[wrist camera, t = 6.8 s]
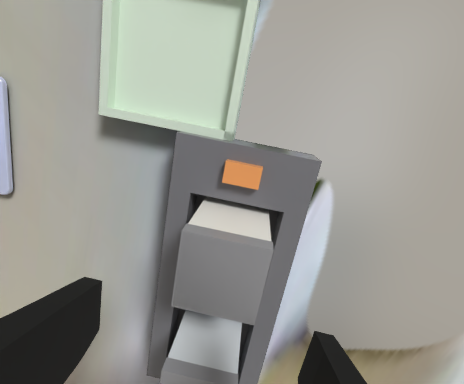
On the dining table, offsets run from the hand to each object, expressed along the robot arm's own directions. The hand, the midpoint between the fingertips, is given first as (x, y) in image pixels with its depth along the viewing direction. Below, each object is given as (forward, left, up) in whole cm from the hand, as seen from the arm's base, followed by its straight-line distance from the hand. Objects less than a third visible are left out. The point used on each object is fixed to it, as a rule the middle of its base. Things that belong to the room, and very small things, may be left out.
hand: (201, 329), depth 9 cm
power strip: (0, -10, -10) cm, 14 cm away
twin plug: (0, -9, -9) cm, 13 cm away
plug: (0, 0, -9) cm, 9 cm away
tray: (-5, +9, -10) cm, 14 cm away
